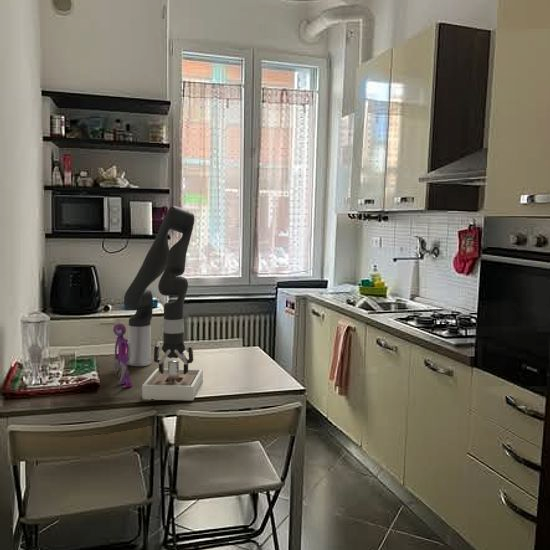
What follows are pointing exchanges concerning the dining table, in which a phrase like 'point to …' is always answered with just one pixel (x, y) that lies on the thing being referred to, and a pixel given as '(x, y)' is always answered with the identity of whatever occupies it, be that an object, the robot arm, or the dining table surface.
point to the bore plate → (183, 381)
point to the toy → (121, 355)
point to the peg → (173, 371)
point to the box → (172, 387)
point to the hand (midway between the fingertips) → (173, 373)
